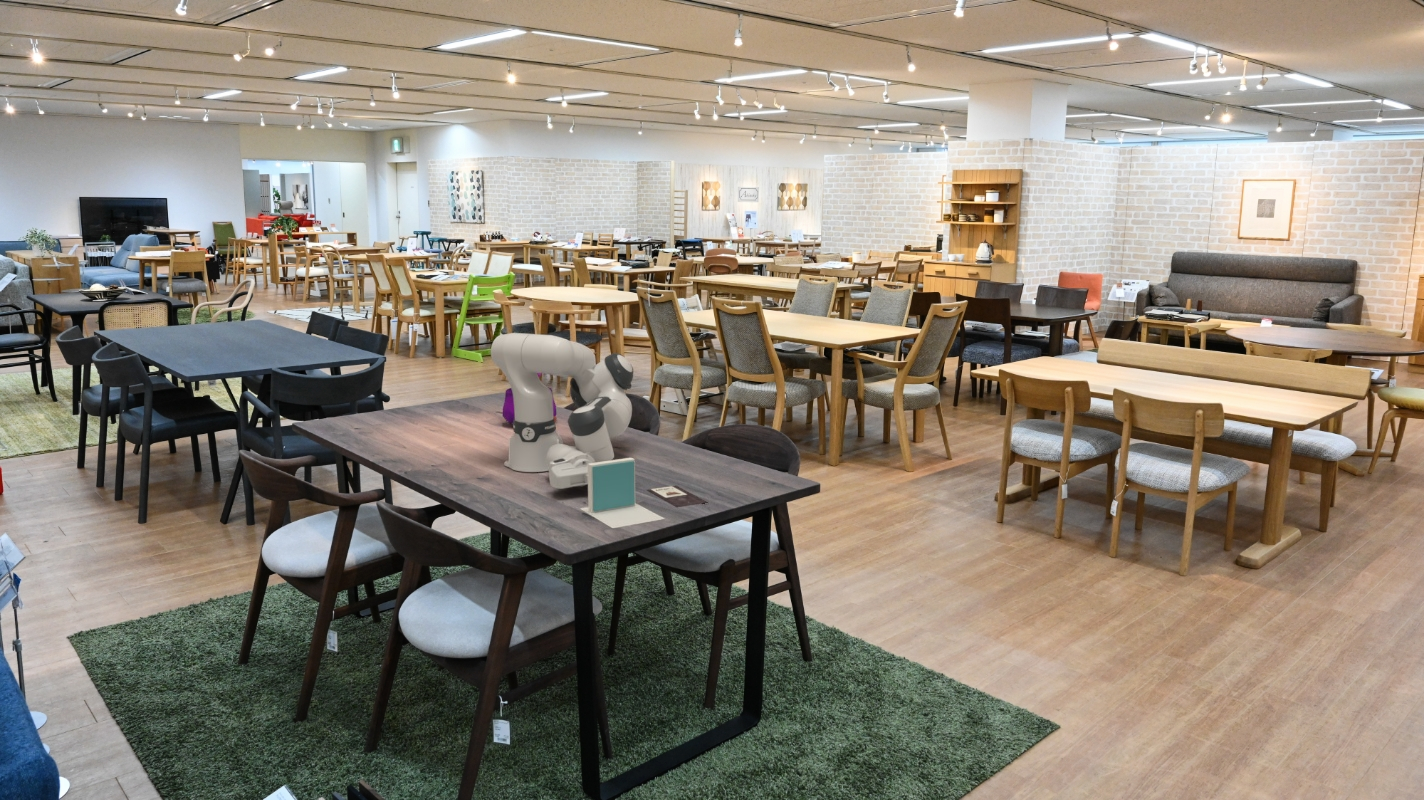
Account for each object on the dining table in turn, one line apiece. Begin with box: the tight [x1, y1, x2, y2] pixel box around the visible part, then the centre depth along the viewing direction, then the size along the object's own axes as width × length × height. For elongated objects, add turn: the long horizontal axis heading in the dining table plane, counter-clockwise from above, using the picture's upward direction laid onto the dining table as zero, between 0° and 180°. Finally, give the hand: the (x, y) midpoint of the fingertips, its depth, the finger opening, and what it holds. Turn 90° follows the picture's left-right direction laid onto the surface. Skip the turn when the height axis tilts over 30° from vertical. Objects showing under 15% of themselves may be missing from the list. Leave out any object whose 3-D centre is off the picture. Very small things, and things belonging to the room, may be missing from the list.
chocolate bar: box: [646, 485, 709, 508], centre depth 255 cm, size 9×1×18 cm
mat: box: [579, 502, 666, 529], centre depth 240 cm, size 18×14×1 cm
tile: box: [587, 457, 636, 513], centre depth 243 cm, size 2×12×12 cm, turn 122°
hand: (601, 481), depth 251 cm, fingers closed
